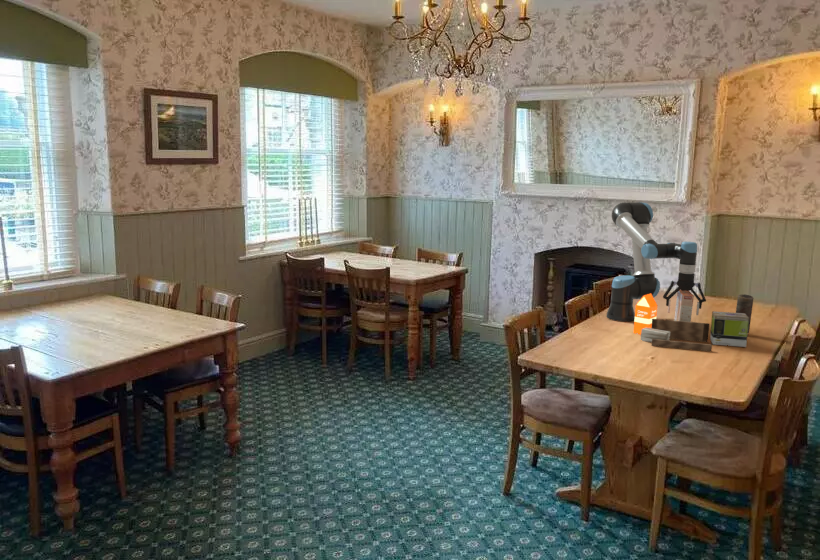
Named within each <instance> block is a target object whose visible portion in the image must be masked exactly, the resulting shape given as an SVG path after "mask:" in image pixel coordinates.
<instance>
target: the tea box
mask: <svg viewBox="0 0 820 560" xmlns="http://www.w3.org/2000/svg"><path fill="white" fill-rule="evenodd" d="M710 323H711V324H710V334H709V340H710V341H711V342H710V343H711V345H716V346H717V345H718V346H727V345H728V347H730V346H731V347H742V348H747V343H748V342H747V341H748V334H749V333H748V323H749V317H748V316H747V315H746V314H745V313H736V312H731V311H730V312H729V311H717V310H716V311H715V310H714V311H712V312H711V322H710Z"/></svg>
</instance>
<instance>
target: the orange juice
mask: <svg viewBox="0 0 820 560" xmlns="http://www.w3.org/2000/svg"><path fill="white" fill-rule="evenodd" d="M634 313H635V319H634V320H633V334H636V333H638V334H637V335H641V331H642V329H643V328H646V327H647V328H651V327H652V319H657V316H658V315H657V313H658V304H657V302H656V300H655V297H654V298H653V296H652V294H647V295H644V296H643V297H642V298H641V299H639V300H638V301H637V303H636V304H635V309H634Z"/></svg>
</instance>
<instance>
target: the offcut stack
mask: <svg viewBox="0 0 820 560" xmlns="http://www.w3.org/2000/svg"><path fill="white" fill-rule="evenodd" d="M669 337H670V332H668V331H663V330H658V329H652V328H647V327H646V328H643V329H642V331H641V334H640V341H641V340H642V341H641V342H646V343H651V344H652V339H659V340H669V341H670V339H669Z"/></svg>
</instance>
